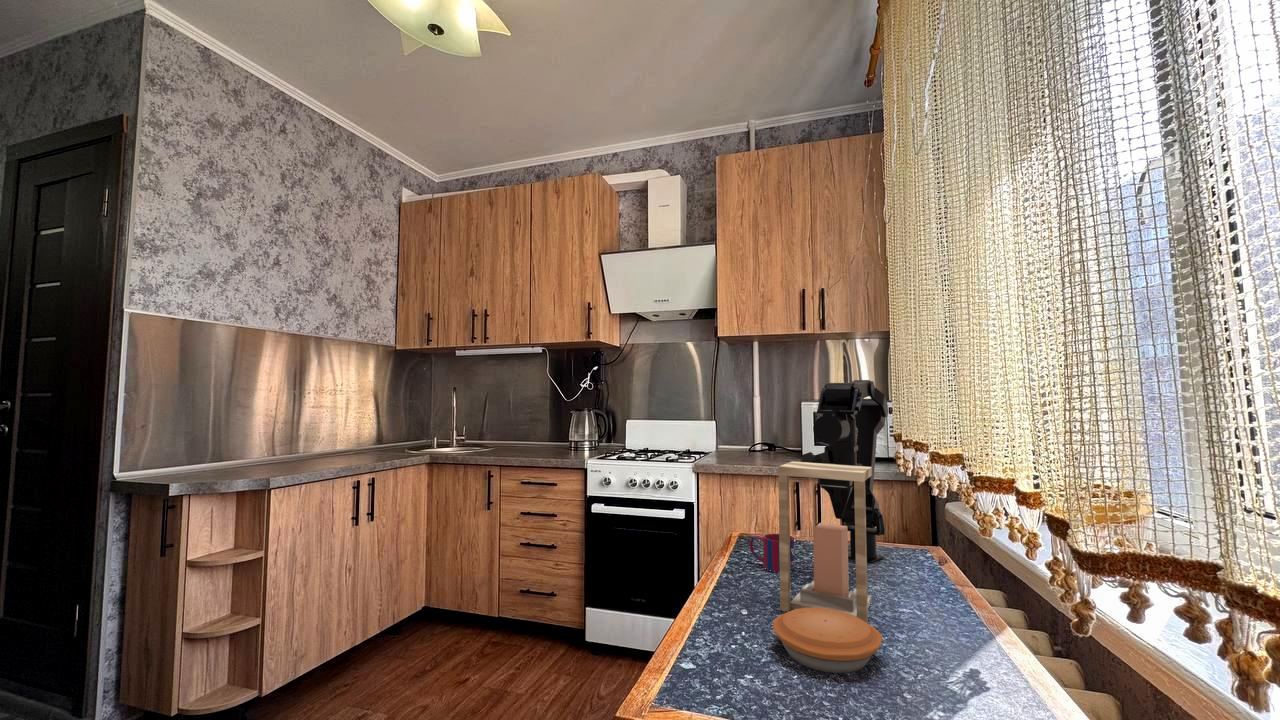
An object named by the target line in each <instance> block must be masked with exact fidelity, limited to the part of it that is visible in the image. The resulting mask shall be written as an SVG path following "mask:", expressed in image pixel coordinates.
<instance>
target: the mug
mask: <svg viewBox="0 0 1280 720" xmlns="http://www.w3.org/2000/svg"><path fill="white" fill-rule="evenodd" d="M755 539H758V540H760V541H761V542H762V546H763V547H762V550H763V552H762V553H763V556H762V557H761V556H759V555H758V554H757V553H756V552H755V549H754V547H753V545H754V544H753V543H754V540H755ZM749 549H750V552H751V554H752V556H753V557H755V559H757V560H759V561H761V562H763V569H765V568H766V569H768V570H771V571H775V572H780V560H779V533H767V534H764V535H763V536H759V535H754V536H752V538H751V539H750V541H749ZM795 564H796V563H795V537H793V536H792V535H790V571H793V570H794V569H795V566H796V565H795ZM766 569H765V570H766ZM768 570H767V571H768ZM771 571H770V572H771ZM794 571H795V570H794ZM794 571H793V572H794ZM775 572H774V573H775Z"/></svg>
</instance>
